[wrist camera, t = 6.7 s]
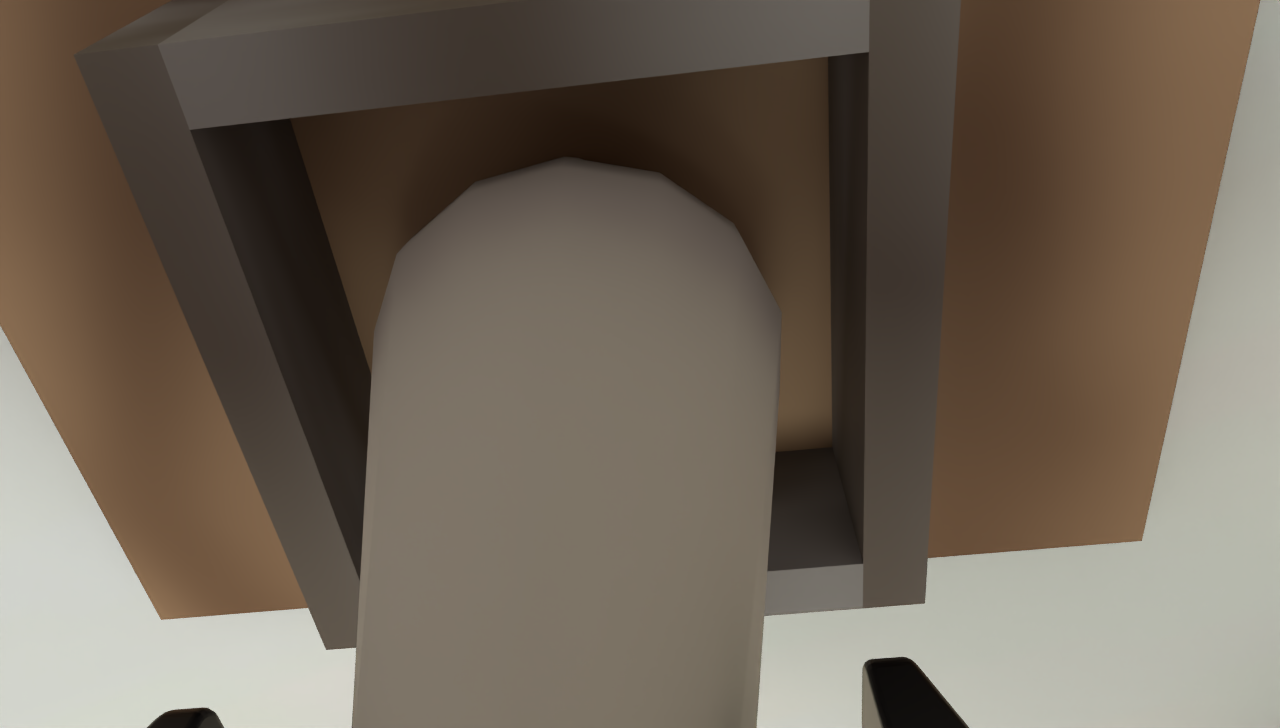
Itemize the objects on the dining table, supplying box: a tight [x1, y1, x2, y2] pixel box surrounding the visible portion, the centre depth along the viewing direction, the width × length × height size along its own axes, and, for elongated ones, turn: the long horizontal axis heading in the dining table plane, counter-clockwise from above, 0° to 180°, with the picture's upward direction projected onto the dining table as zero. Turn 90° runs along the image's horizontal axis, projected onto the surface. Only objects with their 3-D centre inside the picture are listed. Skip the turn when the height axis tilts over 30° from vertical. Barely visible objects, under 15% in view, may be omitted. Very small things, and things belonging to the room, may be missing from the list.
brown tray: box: [0, 0, 1260, 650], centre depth 15 cm, size 20×14×4 cm
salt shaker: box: [352, 157, 782, 728], centre depth 11 cm, size 6×6×13 cm
